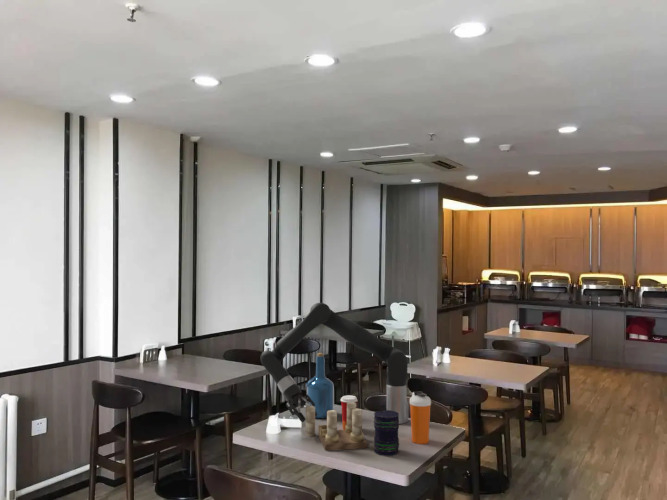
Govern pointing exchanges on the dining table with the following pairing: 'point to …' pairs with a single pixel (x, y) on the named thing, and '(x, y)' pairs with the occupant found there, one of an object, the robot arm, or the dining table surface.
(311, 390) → the wine bottle
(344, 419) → the paper cup
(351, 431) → the stool
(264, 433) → the dining table surface
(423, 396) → the shaker bottle
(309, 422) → the leg
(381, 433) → the storage jar
